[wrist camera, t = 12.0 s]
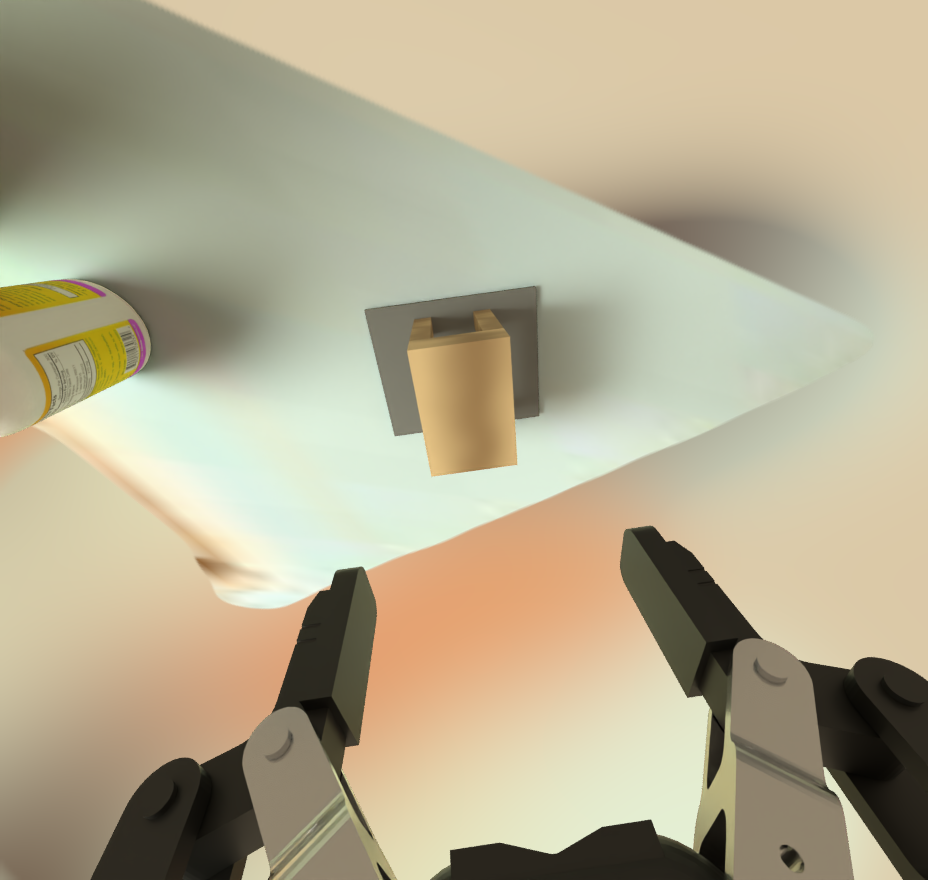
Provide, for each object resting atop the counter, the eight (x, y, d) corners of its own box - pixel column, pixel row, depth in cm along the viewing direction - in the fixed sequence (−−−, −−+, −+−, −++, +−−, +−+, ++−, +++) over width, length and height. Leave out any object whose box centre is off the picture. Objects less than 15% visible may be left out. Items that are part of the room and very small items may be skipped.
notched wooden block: (432, 420, 30) (431, 476, 23) (414, 319, 26) (406, 350, 19) (498, 411, 30) (517, 464, 23) (489, 309, 26) (509, 336, 19)
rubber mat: (395, 433, 31) (394, 436, 31) (365, 309, 26) (364, 310, 26) (537, 413, 31) (539, 416, 31) (534, 286, 26) (536, 287, 26)
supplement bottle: (20, 309, 25) (-324, 373, 13) (92, 257, 24) (-219, 280, 12) (111, 392, 28) (-108, 500, 17) (178, 349, 27) (-8, 435, 15)
